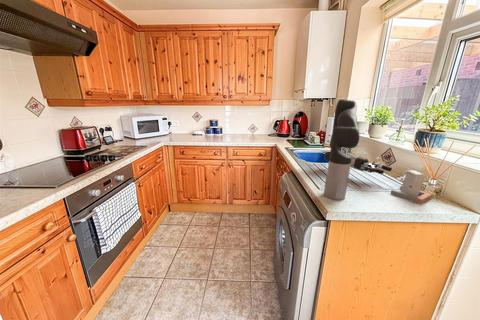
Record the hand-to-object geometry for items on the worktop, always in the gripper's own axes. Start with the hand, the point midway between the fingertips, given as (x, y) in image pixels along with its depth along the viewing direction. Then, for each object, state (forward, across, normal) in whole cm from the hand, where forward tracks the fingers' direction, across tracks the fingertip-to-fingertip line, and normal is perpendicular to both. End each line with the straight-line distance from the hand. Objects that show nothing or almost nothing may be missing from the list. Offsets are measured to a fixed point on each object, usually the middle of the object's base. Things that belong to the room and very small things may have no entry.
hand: (387, 170), depth 104 cm
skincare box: (+11, 0, +9) cm, 15 cm away
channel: (+11, 0, +9) cm, 15 cm away
